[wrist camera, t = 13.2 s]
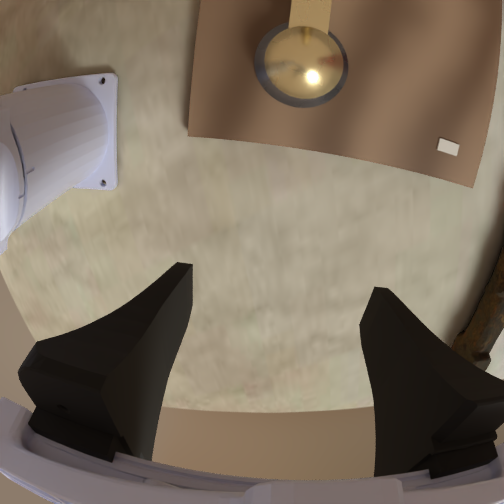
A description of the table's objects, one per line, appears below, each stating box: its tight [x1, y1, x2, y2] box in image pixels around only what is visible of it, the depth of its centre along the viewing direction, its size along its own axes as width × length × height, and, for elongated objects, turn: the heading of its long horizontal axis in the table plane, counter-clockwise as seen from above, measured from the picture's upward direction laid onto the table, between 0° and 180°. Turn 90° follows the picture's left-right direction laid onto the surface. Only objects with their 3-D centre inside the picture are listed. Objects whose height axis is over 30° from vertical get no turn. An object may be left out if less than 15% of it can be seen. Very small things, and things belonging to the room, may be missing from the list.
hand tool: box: [451, 246, 504, 371], centre depth 22 cm, size 19×4×5 cm, turn 176°
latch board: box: [188, 0, 502, 188], centre depth 14 cm, size 19×17×1 cm
